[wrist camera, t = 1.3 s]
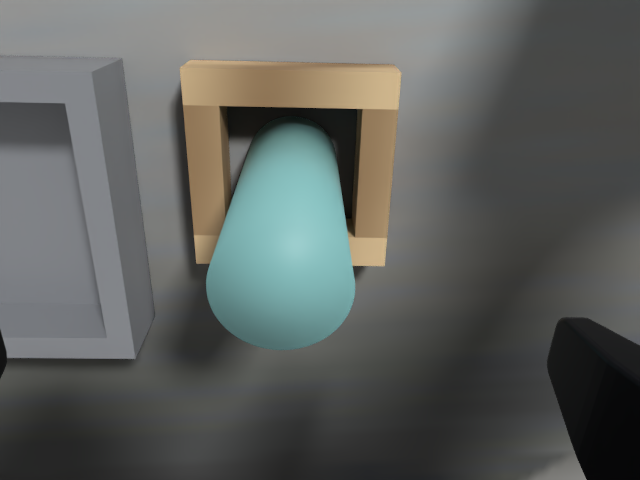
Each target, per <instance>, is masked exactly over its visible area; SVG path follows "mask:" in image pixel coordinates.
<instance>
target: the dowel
mask: <svg viewBox="0 0 640 480" xmlns="http://www.w3.org/2000/svg"><path fill="white" fill-rule="evenodd" d="M206 291H207V298H208V301H209V304H210V307H211V309H212V311H213V313H214V314H215V316H216V317H217V319H218V320H219V322H220V323H221V324H222V325H223V326H224V327H225V328H226V329H227V330H228V331H229V332H230V333H232V334H233V335H235V336H236V337H237V338H239V339H241V340H243V341H245V342H247V343H249V344H252V345H254V346H258V347H261V348H266V349H272V350H292V349H298V348H303V347H306V346H310V345H312V344H315V343H317V342H319V341H321V340H323V339H325V338H326V337H327V336H329V335H330V334H332V333H333V332H334V331H335V330H336V329H337V328H338V327H339V326H340V325H341V324H342V323H343V322H344V320H345V318H346V317H347V315H348V314H349V311H350V309H351V307H352V304H353V300H354V295H355V279H354V273H353V266H352V259H351V253H350V246H349V239H348V232H347V226H346V219H345V212H344V206H343V199H342V192H341V186H340V179H339V172H338V165H337V159H336V152H335V148H334V145H333V142H332V140H331V138H330V137H329V135H328V134H327V133H326V131H325V130H324V129H323V128H322V127H320V126H319V125H318V124H316V123H315V122H313V121H311V120H309V119H306V118H302V117H297V116H286V117H281V118H277V119H275V120H272V121H270V122H269V123H267V124H266V125H264V126H263V127H262V128H261V129H260V130H259V131H258V132H257V134H256V135H255V137H254V138H253V140H252V142H251V145H250V148H249V151H248V154H247V157H246V160H245V163H244V166H243V169H242V172H241V175H240V178H239V180H238V183H237V186H236V189H235V192H234V195H233V198H232V201H231V204H230V207H229V210H228V213H227V216H226V219H225V221H224V224H223V227H222V230H221V233H220V236H219V239H218V242H217V245H216V248H215V251H214V254H213V257H212V260H211V262H210V266H209V269H208V272H207V278H206Z"/></svg>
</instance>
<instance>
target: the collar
mask: <svg viewBox="0 0 640 480" xmlns="http://www.w3.org/2000/svg"><path fill="white" fill-rule="evenodd" d="M180 77H181V88H182V100H183V112H184V124H185V136H186V147H187V159H188V171H189V183H190V195H191V206H192V218H193V230H194V242H195V254H196V264H210V262H211V260H212V257H213V254H214V251H215V248H216V245H217V242H218V239H219V236H220V233H221V230H222V227H223V224H224V221H225V219H226V216H227V213H228V210H229V207H230V204H231V201H232V197H231V177H230V156H229V136H228V116H227V106H248V107H296V108H343V109H358V112H357V130H356V149H355V167H354V185H353V203H352V218H345V219H346V226H347V232H348V239H349V246H350V253H351V259H352V266H385V255H386V243H387V232H388V220H389V209H390V198H391V186H392V175H393V163H394V152H395V140H396V129H397V117H398V106H399V94H400V83H401V72H400V71H399V70H398V69H397V68H396V67H395V65H389V64H346V63H303V62H259V61H216V60H190V61H188V62H187V63H186V64H184V65H183V66H182V67H180Z"/></svg>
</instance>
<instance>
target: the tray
mask: <svg viewBox="0 0 640 480" xmlns="http://www.w3.org/2000/svg"><path fill="white" fill-rule="evenodd" d="M154 317H155V311H154V303H153V296H152V288H151V280H150V272H149V264H148V257H147V249H146V241H145V233H144V226H143V218H142V210H141V202H140V194H139V187H138V179H137V171H136V163H135V155H134V148H133V140H132V132H131V124H130V117H129V109H128V101H127V93H126V85H125V78H124V70H123V62H122V58H87V57H44V56H1V55H0V330H1V333H2V337H3V340H4V344H5V347H6V351H7V358H87V359H136V357H137V354H138V352H139V350H140V348H141V346H142V343H143V341H144V339H145V337H146V334H147V332H148V330H149V328H150V326H151V323H152V321H153V319H154Z"/></svg>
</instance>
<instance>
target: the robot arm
mask: <svg viewBox="0 0 640 480" xmlns="http://www.w3.org/2000/svg"><path fill="white" fill-rule="evenodd" d="M6 363H7V351H6V347H5V344H4V340H3V337H2V333H1V330H0V378H1V376H2V374H3V372H4V369H5V367H6ZM547 368H548V373H549V376H550V379H551V382H552V385H553V388H554V391H555V394H556V397H557V400H558V403H559V406H560V409H561V412H562V415H563V419H564V422H565V425H566V428H567V431H568V434H569V437H570V440H571V443H572V445H573V448H574V451H575V453H576V456H577V459H578V461H579V463H580V466H581V468H582V470H583V472H584V475H585V477H586V479H587V480H640V345H638V344H636V343H634V342H632V341H630V340H628V339H626V338H624V337H623V336H621V335H619V334H617V333H615V332H613V331H611V330H609V329H607V328H606V327H604V326H602V325H600V324H598V323H596V322H594V321H592V320H590V319H588V318H584V317H564V318H562V319H560V320H559V321H558V323H557V325H556V328H555V332H554V336H553V339H552V343H551V347H550V351H549V355H548V360H547Z"/></svg>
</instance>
